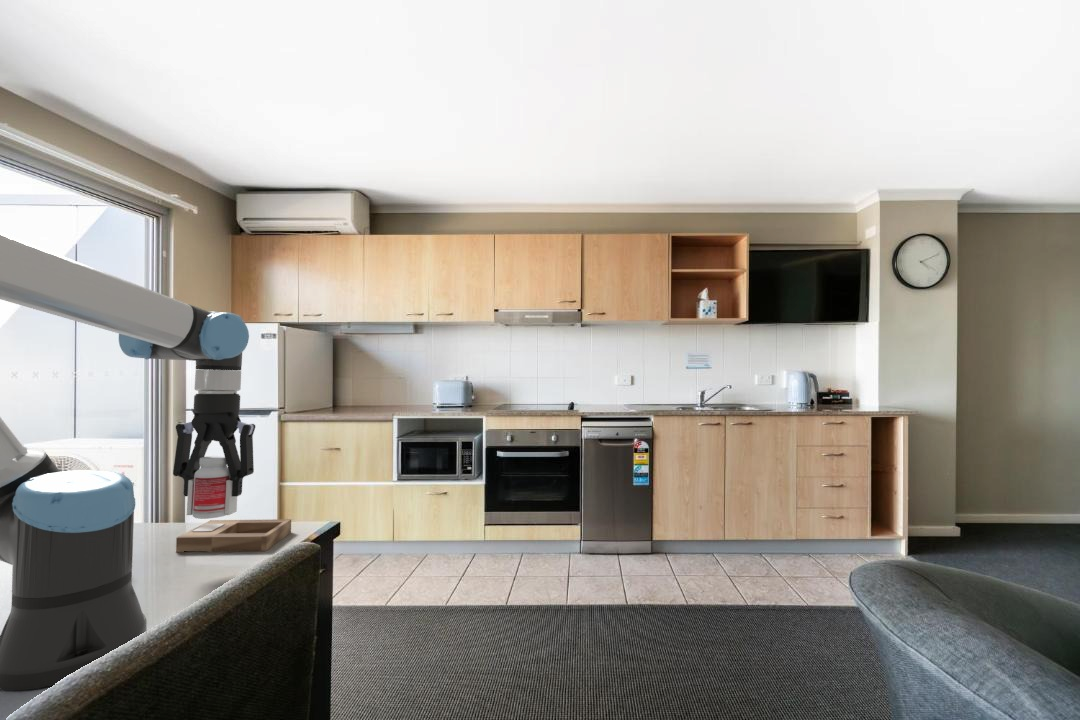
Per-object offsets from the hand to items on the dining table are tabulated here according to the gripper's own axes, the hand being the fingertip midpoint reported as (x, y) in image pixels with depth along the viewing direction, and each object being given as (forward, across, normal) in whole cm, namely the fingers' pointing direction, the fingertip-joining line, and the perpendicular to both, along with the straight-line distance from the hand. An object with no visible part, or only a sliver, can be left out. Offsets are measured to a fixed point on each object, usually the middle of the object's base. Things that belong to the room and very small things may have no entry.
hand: (212, 513), depth 96 cm
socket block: (+10, +3, -15) cm, 18 cm away
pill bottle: (+1, 0, 0) cm, 1 cm away
